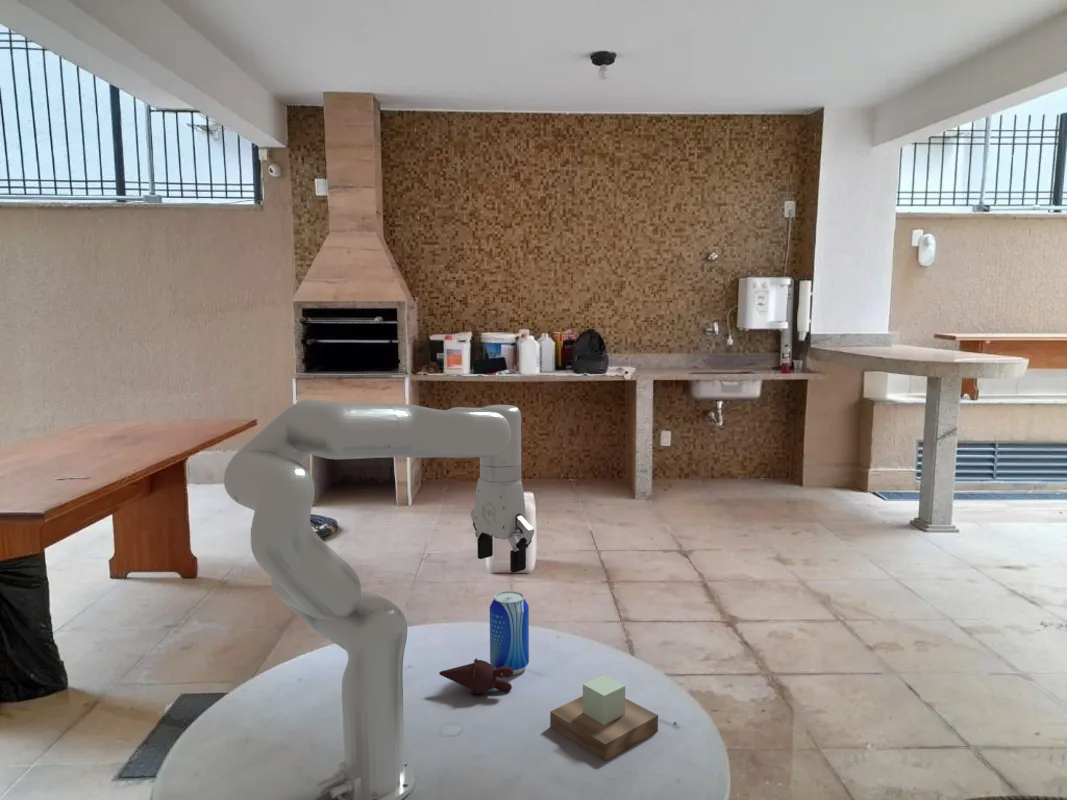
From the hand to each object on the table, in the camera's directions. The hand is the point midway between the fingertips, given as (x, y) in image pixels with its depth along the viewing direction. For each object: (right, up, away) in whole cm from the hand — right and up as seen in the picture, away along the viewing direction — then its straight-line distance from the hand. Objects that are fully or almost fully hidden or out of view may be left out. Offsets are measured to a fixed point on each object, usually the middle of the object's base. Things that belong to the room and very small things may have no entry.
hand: (501, 563), depth 135 cm
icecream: (-6, -29, +14) cm, 33 cm away
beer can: (+1, -28, +24) cm, 37 cm away
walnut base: (+19, -31, 0) cm, 36 cm away
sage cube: (+19, -28, 0) cm, 33 cm away
